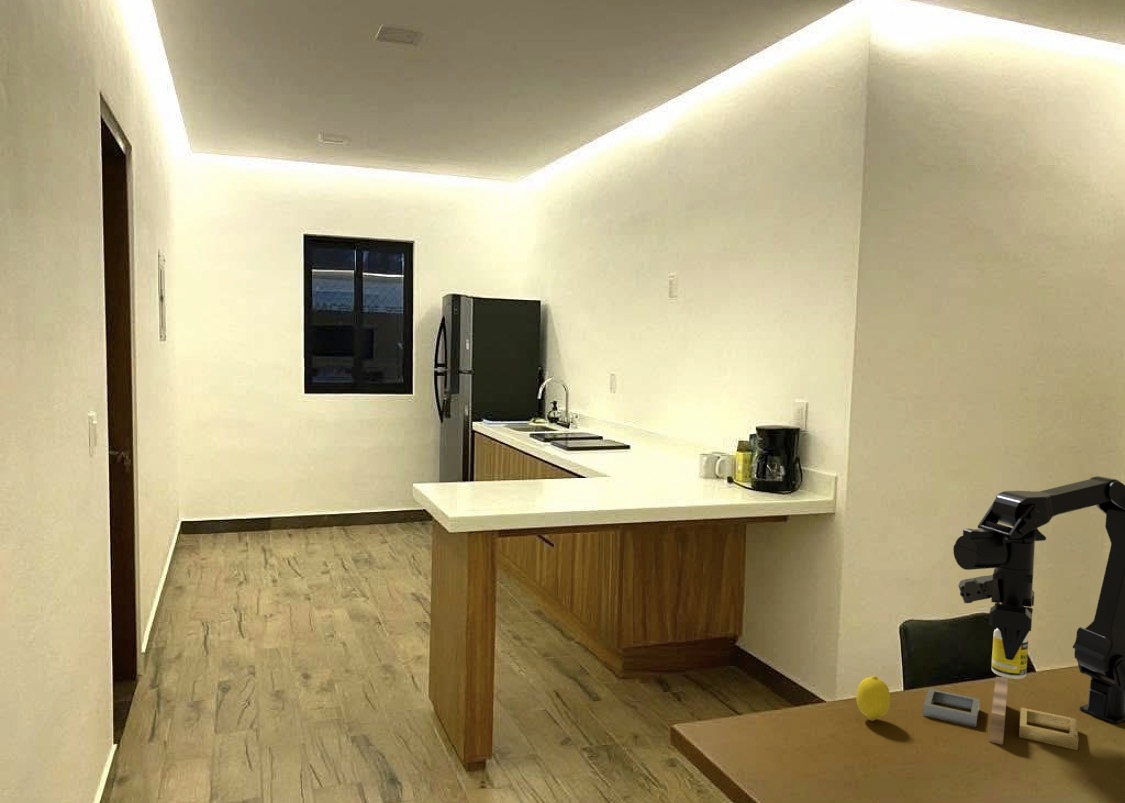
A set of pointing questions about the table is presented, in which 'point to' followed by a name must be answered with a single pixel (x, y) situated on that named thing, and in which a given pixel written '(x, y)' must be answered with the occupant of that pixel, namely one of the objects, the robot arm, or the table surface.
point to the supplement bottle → (1009, 667)
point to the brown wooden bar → (998, 711)
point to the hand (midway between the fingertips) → (1010, 654)
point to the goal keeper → (1045, 734)
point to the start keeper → (949, 713)
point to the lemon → (873, 698)
